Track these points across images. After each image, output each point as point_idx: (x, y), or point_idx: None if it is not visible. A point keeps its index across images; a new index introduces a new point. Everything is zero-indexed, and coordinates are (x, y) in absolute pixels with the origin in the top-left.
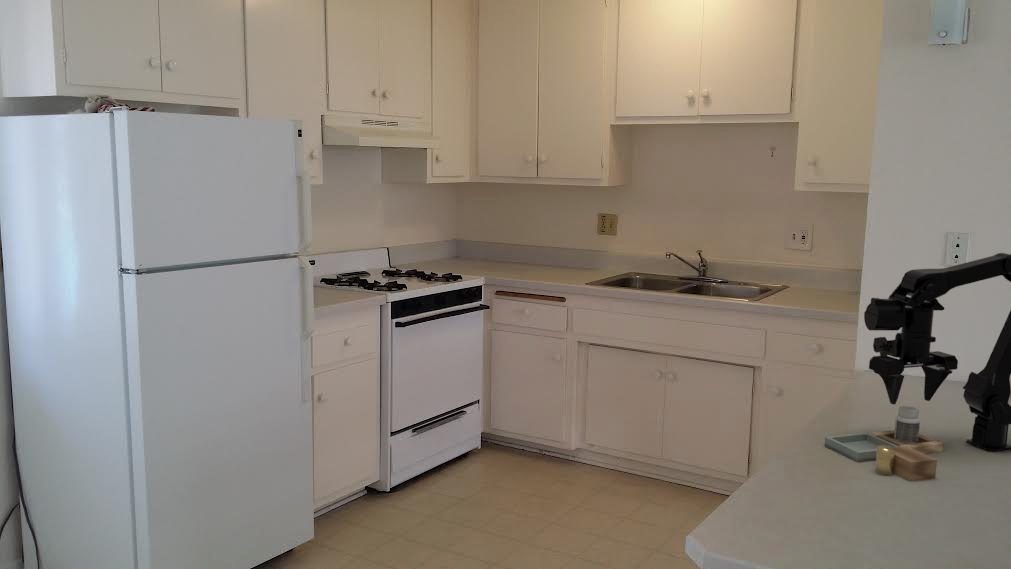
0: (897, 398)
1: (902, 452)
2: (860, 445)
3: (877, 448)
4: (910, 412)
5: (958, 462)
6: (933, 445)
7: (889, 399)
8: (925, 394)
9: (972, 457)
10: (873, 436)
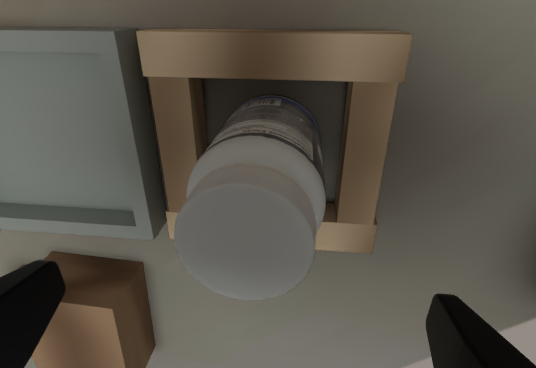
0: (27, 355)
1: (59, 337)
2: (54, 103)
3: None
4: (209, 283)
5: (320, 306)
6: (316, 246)
7: (5, 277)
8: (454, 343)
9: (412, 296)
10: (114, 98)
